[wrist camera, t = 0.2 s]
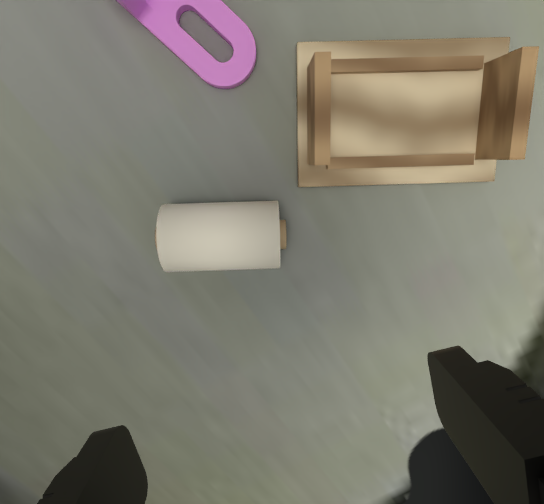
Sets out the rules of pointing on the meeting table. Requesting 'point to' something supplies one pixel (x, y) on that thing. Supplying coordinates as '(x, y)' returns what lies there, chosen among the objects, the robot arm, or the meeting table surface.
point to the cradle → (411, 110)
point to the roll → (220, 236)
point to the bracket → (165, 26)
